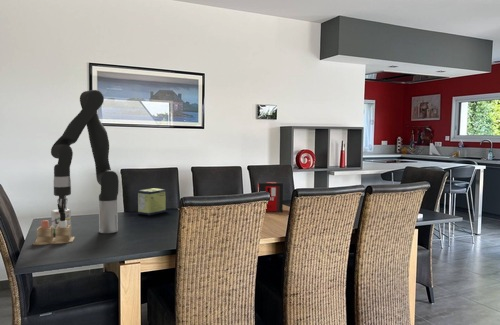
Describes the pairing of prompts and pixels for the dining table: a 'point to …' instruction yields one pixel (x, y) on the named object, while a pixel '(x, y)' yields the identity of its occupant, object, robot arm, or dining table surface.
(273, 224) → the dining table surface
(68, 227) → the socket block
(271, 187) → the cleaning product box
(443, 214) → the dining table surface
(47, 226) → the terracotta plug
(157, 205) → the protein box
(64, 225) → the grey plug
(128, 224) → the dining table surface
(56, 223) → the ink box
